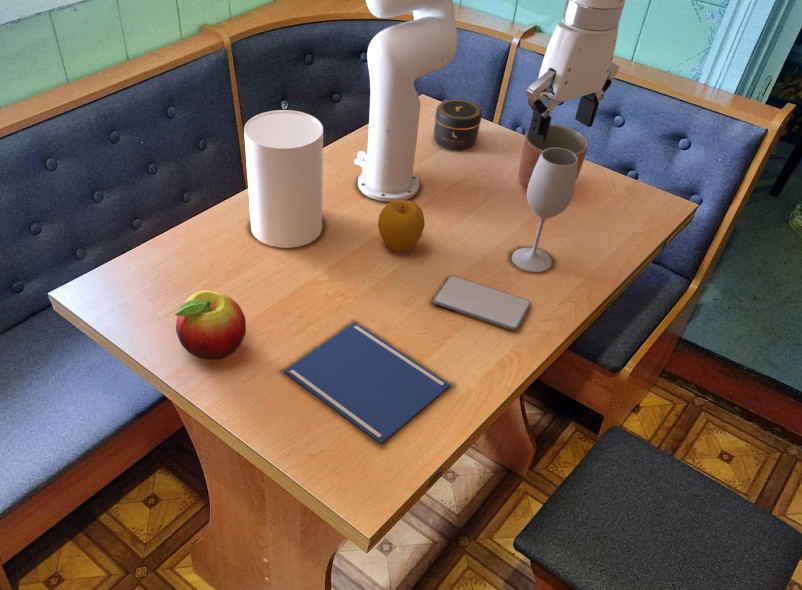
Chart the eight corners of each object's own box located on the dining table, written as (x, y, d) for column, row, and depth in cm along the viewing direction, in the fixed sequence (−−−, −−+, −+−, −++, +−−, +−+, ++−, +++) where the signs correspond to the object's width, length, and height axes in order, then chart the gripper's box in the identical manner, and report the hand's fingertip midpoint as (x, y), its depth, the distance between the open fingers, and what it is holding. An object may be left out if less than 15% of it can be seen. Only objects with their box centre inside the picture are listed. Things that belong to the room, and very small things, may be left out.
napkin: (283, 372, 112) (283, 370, 112) (354, 323, 120) (354, 321, 120) (380, 444, 103) (381, 442, 102) (450, 386, 111) (450, 384, 110)
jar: (430, 149, 161) (434, 117, 155) (434, 128, 168) (438, 96, 162) (475, 154, 160) (481, 121, 154) (477, 133, 167) (483, 100, 161)
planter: (517, 168, 156) (528, 120, 148) (576, 177, 154) (590, 129, 146) (511, 198, 148) (522, 149, 140) (572, 209, 146) (587, 159, 138)
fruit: (259, 354, 114) (256, 306, 107) (196, 380, 110) (188, 331, 103) (229, 315, 121) (223, 267, 113) (168, 338, 116) (158, 290, 109)
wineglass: (552, 275, 131) (584, 171, 115) (509, 269, 131) (535, 165, 116) (552, 251, 136) (582, 148, 121) (511, 245, 137) (536, 142, 121)
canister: (280, 256, 132) (276, 156, 118) (237, 223, 139) (228, 125, 125) (336, 229, 139) (339, 131, 124) (292, 199, 145) (290, 103, 131)
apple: (398, 226, 140) (402, 186, 133) (431, 246, 136) (437, 205, 129) (367, 244, 136) (370, 203, 129) (400, 265, 131) (405, 224, 125)
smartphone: (450, 274, 129) (532, 300, 124) (449, 278, 129) (531, 304, 124) (431, 300, 123) (516, 329, 119) (431, 304, 124) (515, 333, 119)
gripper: (616, -6, 104) (583, 107, 117) (526, 14, 98) (501, 132, 110) (657, 12, 100) (618, 128, 112) (565, 34, 93) (534, 155, 106)
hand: (560, 130), depth 111 cm, fingers open, 9 cm apart
